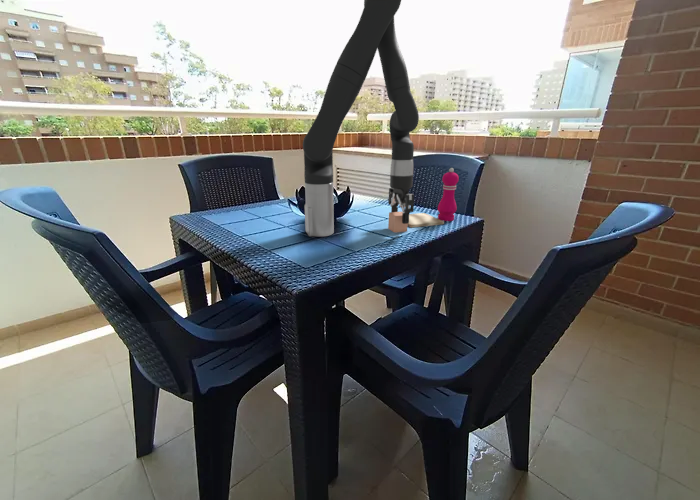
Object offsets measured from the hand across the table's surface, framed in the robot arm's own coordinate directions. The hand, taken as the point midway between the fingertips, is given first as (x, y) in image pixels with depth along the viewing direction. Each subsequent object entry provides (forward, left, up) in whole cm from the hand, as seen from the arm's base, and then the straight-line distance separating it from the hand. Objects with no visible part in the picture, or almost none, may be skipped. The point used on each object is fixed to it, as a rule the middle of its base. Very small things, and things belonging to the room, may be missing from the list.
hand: (399, 220), depth 112 cm
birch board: (+13, +8, -4) cm, 16 cm away
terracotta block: (0, 0, -4) cm, 4 cm away
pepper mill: (+25, +7, -4) cm, 26 cm away
